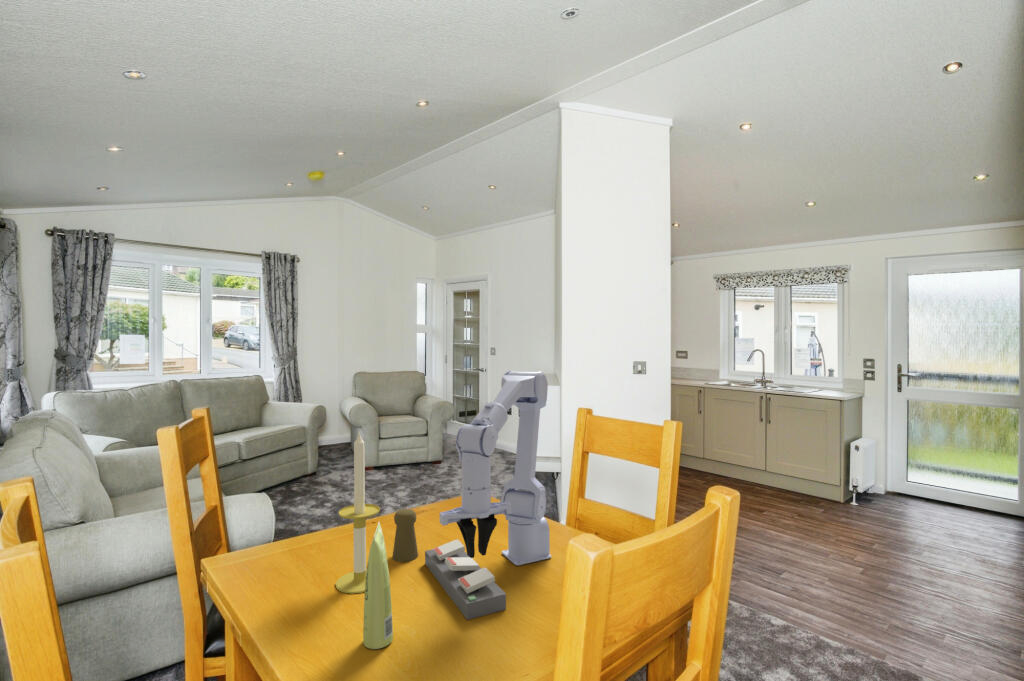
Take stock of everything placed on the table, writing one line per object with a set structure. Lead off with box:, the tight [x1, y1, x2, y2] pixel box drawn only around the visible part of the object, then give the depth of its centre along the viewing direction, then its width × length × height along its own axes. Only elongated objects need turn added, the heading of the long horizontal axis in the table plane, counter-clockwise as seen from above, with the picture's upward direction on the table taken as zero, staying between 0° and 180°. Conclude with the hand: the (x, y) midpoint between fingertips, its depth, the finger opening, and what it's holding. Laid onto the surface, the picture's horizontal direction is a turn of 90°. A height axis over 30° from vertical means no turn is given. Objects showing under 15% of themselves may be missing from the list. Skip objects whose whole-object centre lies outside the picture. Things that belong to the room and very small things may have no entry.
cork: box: [392, 508, 419, 563], centre depth 121 cm, size 6×6×11 cm
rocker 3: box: [458, 567, 496, 594], centre depth 100 cm, size 6×4×1 cm
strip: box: [424, 548, 507, 621], centre depth 107 cm, size 8×26×4 cm, turn 27°
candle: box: [334, 431, 381, 595], centre depth 108 cm, size 10×10×32 cm
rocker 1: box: [432, 538, 466, 561], centre depth 114 cm, size 6×4×1 cm
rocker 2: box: [445, 557, 480, 571], centre depth 107 cm, size 6×4×1 cm
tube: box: [362, 521, 394, 650], centre depth 87 cm, size 6×5×20 cm
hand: (476, 554), depth 100 cm, fingers closed
